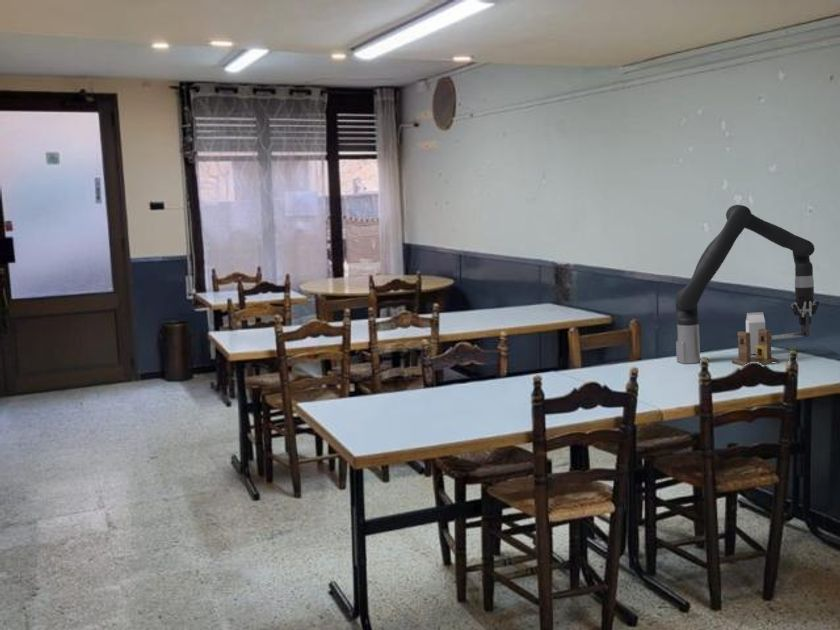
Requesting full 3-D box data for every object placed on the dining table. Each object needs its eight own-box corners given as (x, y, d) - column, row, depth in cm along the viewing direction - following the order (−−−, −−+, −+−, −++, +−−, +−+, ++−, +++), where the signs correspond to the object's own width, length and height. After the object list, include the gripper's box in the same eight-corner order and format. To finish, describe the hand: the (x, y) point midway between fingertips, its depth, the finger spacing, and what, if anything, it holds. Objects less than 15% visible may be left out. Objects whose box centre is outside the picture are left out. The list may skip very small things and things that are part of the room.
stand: (745, 366, 359) (744, 334, 357) (732, 363, 369) (730, 331, 367) (778, 362, 362) (777, 330, 361) (764, 359, 372) (763, 327, 370)
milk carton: (766, 354, 382) (765, 313, 379) (749, 355, 383) (748, 314, 381) (762, 351, 389) (761, 311, 386) (746, 352, 390) (745, 312, 388)
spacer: (764, 359, 363) (763, 346, 362) (755, 357, 369) (755, 344, 368) (767, 359, 363) (766, 345, 363) (758, 357, 369) (758, 343, 368)
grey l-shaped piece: (767, 341, 364) (767, 318, 363) (763, 340, 367) (762, 318, 366) (809, 336, 369) (808, 313, 367) (804, 335, 371) (804, 313, 370)
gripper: (796, 288, 362) (796, 327, 364) (823, 284, 365) (824, 324, 367) (784, 286, 369) (785, 325, 371) (812, 283, 372) (813, 322, 374)
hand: (805, 324), depth 369 cm, fingers closed
